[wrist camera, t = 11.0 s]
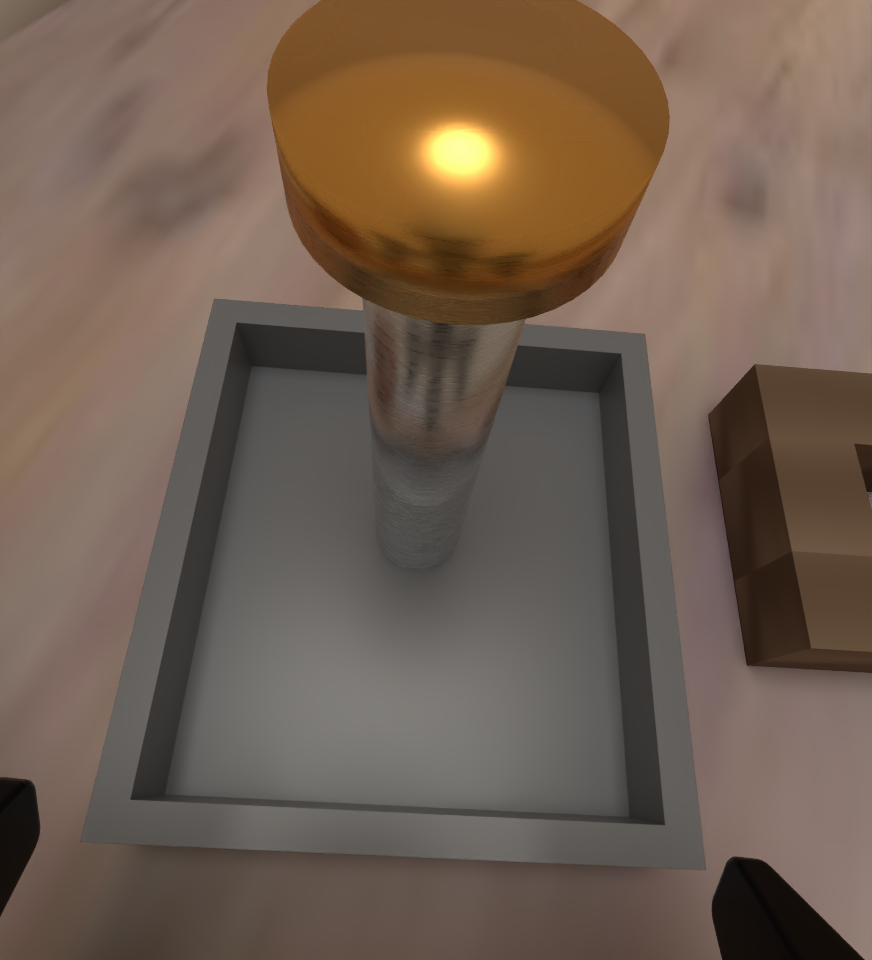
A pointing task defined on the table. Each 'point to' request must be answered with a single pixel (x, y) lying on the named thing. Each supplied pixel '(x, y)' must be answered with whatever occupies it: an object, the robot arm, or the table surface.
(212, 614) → the tray
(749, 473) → the hitch block
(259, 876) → the table surface
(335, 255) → the pin
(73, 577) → the table surface
